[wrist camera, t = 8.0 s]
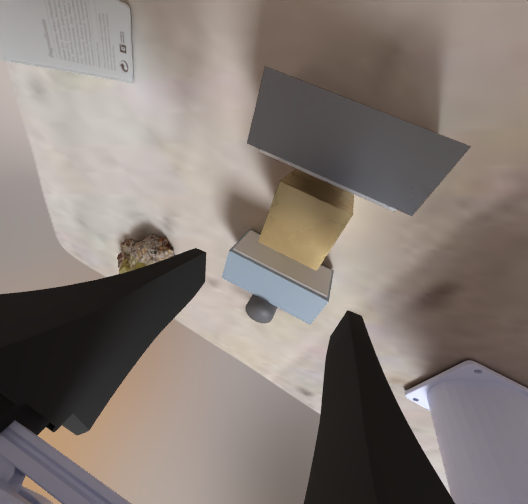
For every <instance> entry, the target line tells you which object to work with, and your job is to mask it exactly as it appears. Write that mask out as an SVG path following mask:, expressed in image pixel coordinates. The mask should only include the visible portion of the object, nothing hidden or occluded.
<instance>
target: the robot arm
mask: <svg viewBox="0 0 528 504" xmlns="http://www.w3.org/2000/svg"><path fill="white" fill-rule="evenodd" d="M205 270H206V252H204V251H202V250H199V249H197V248H195V249H192V250H189V251H186V252H183V253H181V254H178V255H175V256H173V257H170V258H167V259H164V260H162V261H159V262H156V263H153V264H150V265H147V266H144V267H141V268H138V269H135V270H132V271H129V272H125V273H122V274H118V275H114V276H110V277H106V278H102V279H98V280H94V281H88V282H84V283H78V284H74V285H68V286H62V287H56V288H49V289H43V290H36V291H27V292H19V293H9V294H0V504H53V503H52V502H51V501H49V500H48V499H47V498H45V497H44V496H42V495H40V494H38V493H36V492H34V491H32V490H30V489H28V488H25V487H23V486H22V482H23V480H24V478H25V475H26V476H28V477H29V478H30V479H31V480H33V481H34V482H35V483H36V484H38V485H39V486H40V487H42V488H43V489H44V490H45V491H47V492H48V493H49V494H50V495H52V496H53V497H54V498H56V499H57V500H58V501H59V502H61V503H62V504H131V503H130V502H128V501H127V500H125V499H124V498H122V497H121V496H120V495H119V494H117V493H116V492H114V491H113V490H112V489H110V488H109V487H107V486H106V485H105V484H103V483H102V482H101V481H99V480H98V479H96V478H95V477H94V476H92V475H91V474H90V473H88V472H87V471H85V470H84V469H83V468H81V467H80V466H78V465H77V464H76V463H74V462H73V461H72V460H70V459H69V458H67V457H66V456H65V455H63V454H62V453H61V452H59V451H58V450H56V449H55V448H54V447H52V446H51V445H49V444H48V443H47V442H45V441H44V440H43V439H41V438H40V437H38V436H37V435H38V434H39V433H40V432H41V431H42V430H43V429H44V428H45V427H47V428H49V429H50V430H51V431H52V432H55V431H56V430H57V429H58V428H59V427H60V426H61V425H62V426H64V427H65V428H67V429H68V430H70V431H71V432H73V433H74V434H76V435H80V434H82V433H85V432H87V431H89V430H90V429H91V427H92V425H93V424H94V422H95V421H96V419H97V418H98V416H99V415H100V413H101V412H102V410H103V409H104V407H105V406H106V404H107V403H108V401H109V400H110V398H111V397H112V396H113V394H114V393H115V391H116V390H117V388H118V387H119V385H120V384H121V383H122V381H123V380H124V379H125V377H126V376H127V374H128V373H129V372H130V370H131V369H132V368H133V366H134V365H135V364H136V362H137V361H138V360H139V358H140V357H141V356H142V354H143V353H144V352H145V351H146V349H147V348H148V347H149V346H150V344H151V343H152V342H153V340H154V339H155V338H156V337H157V336H158V335H159V333H160V332H161V331H162V330H163V329H164V328H165V327H166V326H167V325H168V323H170V322H171V321H172V320H173V319H174V317H175V316H176V315H177V314H178V313H179V312H180V311H181V310H182V309H183V308H184V307H185V306H186V305H187V304H188V303H189V302H190V301H191V299H192V298H193V297H194V296H195V295H196V293H197V292H198V291H199V289H200V288H201V287H202V285H203V284H204V282H205ZM405 397H406V398H408V399H410V400H411V401H413V402H415V403H417V404H419V405H421V406H422V407H424V408H426V409H428V410H430V412H431V416H432V420H433V424H434V428H435V432H436V436H437V440H438V444H439V448H440V453H441V457H442V461H443V465H444V469H445V473H446V477H447V481H448V485H449V489H450V493H451V496H450V494H449V493H448V491H447V490H446V488H445V486H444V485H443V483H442V481H441V480H440V478H439V476H438V475H437V473H436V471H435V470H434V468H433V466H432V465H431V463H430V462H429V460H428V458H427V457H426V455H425V453H424V451H423V450H422V448H421V446H420V445H419V443H418V441H417V439H416V437H415V436H414V434H413V432H412V430H411V428H410V426H409V424H408V423H407V421H406V419H405V417H404V415H403V413H402V411H401V409H400V407H399V405H398V403H397V401H396V399H395V397H394V395H393V393H392V390H391V388H390V386H389V384H388V382H387V380H386V377H385V375H384V373H383V370H382V368H381V365H380V363H379V361H378V358H377V356H376V353H375V351H374V348H373V345H372V343H371V340H370V337H369V335H368V332H367V329H366V326H365V323H364V321H363V318H362V316H360V315H358V314H356V313H353V312H351V311H348V310H347V312H346V313H345V315H344V317H343V318H342V320H341V321H340V323H339V324H338V326H337V327H336V329H335V330H334V332H333V333H332V335H331V336H330V341H329V345H328V350H327V355H326V361H325V372H324V383H323V395H322V406H321V416H320V424H319V429H318V435H317V440H316V446H315V451H314V457H313V462H312V467H311V472H310V477H309V482H308V487H307V491H306V496H305V501H304V504H528V388H526V387H524V386H522V385H520V384H518V383H516V382H514V381H512V380H510V379H508V378H506V377H504V376H502V375H500V374H498V373H496V372H494V371H492V370H491V369H489V368H487V367H485V366H483V365H481V364H479V363H477V362H474V361H470V360H468V361H464V362H462V363H460V364H458V365H456V366H454V367H452V368H450V369H448V370H446V371H444V372H442V373H440V374H438V375H436V376H434V377H432V378H430V379H428V380H426V381H424V382H422V383H420V384H418V385H416V386H414V387H412V388H410V389H408V390H406V391H405ZM451 497H452V498H451Z"/></svg>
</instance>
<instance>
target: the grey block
mask: <svg viewBox="0 0 528 504" xmlns="http://www.w3.org/2000/svg"><path fill="white" fill-rule="evenodd" d="M247 144H250V145H252V146H254V147H257V148H259V149H260V150H259V152H260V153H263V154H265V155H267V156H269V157H272V158H274V159H276V160H278V161H281V162H283V163H285V164H287V165H290V166H292V167H294V168H296V169H299V170H301V171H303V172H305V173H308V174H310V175H312V176H314V177H317V178H319V179H321V180H323V181H326V182H328V183H330V184H332V185H335V186H337V187H339V188H341V189H344V190H346V191H348V192H350V193H353V194H355V195H357V196H359V197H362V198H364V199H366V200H368V201H371V202H373V203H375V204H377V205H380V206H382V207H384V208H387V209H389V210H391V211H393V212H395V211H396V210H399V211H401V212H404V213H406V214H408V215H410V216H412V215H413V214H414V213H415V212H416V211H417V210H418V208H419V207H420V206H421V205H422V204H423V203H424V201H425V200H426V199H427V198H428V197H429V195H430V194H431V193H432V192H433V191H434V190H435V188H436V187H437V186H438V185H439V184H440V182H441V181H442V180H443V179H444V178H445V177H446V175H447V174H448V173H449V172H450V171H451V169H452V168H453V167H454V166H455V165H456V164H457V162H458V161H459V160H460V159H461V158H462V156H463V155H464V154H465V153H466V152H467V151H468V149H469V148H470V147H471V146H468V145H466V144H463V143H461V142H458V141H455V140H453V139H450V138H448V137H445V136H443V135H440V134H437V133H435V132H432V131H430V130H427V129H425V128H422V127H420V126H417V125H414V124H412V123H409V122H407V121H404V120H402V119H399V118H396V117H394V116H391V115H389V114H386V113H384V112H381V111H378V110H376V109H373V108H371V107H368V106H366V105H363V104H361V103H358V102H355V101H353V100H350V99H348V98H345V97H343V96H340V95H337V94H335V93H332V92H330V91H327V90H325V89H322V88H319V87H317V86H314V85H312V84H309V83H307V82H304V81H302V80H299V79H296V78H294V77H291V76H289V75H286V74H284V73H281V72H278V71H276V70H273V69H271V68H268V67H266V66H265V69H264V74H263V78H262V82H261V86H260V90H259V95H258V99H257V103H256V107H255V112H254V116H253V120H252V124H251V128H250V133H249V137H248V141H247Z"/></svg>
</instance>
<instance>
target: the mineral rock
mask: <svg viewBox="0 0 528 504" xmlns="http://www.w3.org/2000/svg"><path fill="white" fill-rule="evenodd" d="M121 246H122V252H121V253H120V254H119V255H118V257H117V259H118V267H119V268H120V269H119V274H122V273H125V272H129V271H132V270H135V269H138V268H141V267H144V266H147V265H150V264H153V263H156V262H159V261H162V260H164V259H167V258H170V257H173V256H174V253H173V252H174V250H173V249H171V248H170V247H169V245H168V240H167V239H166V238H159V237H158V236H157V235H149V236H147V237H145V238H144V240H143V241H140V242H136V241H134V240H132V239H130V240H125V241H124V242H123V243H122V244H121Z"/></svg>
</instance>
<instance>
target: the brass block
mask: <svg viewBox="0 0 528 504" xmlns="http://www.w3.org/2000/svg"><path fill="white" fill-rule="evenodd" d="M353 204H354V194H353V193H350V192H348V191H346V190H344V189H341V188H339V187H337V186H335V185H332V184H330V183H328V182H326V181H323V180H321V179H319V178H317V177H314V176H312V175H310V174H308V173H305V172H303V171H301V170H299V169H295V170H294V171H292V172H291V173H290V174H289V175H287V176H286V177H285V178H284V179H282V180H281V181H280V182H279V185H278V188H277V191H276V194H275V196H274V199H273V202H272V205H271V207H270V210H269V213H268V216H267V218H266V221H265V224H264V227H263V229H262V232H261V235H260V238H259V241H258V242H259V243H261V244H263V245H265V246H267V247H269V248H271V249H273V250H275V251H277V252H279V253H281V254H283V255H285V256H287V257H289V258H291V259H293V260H295V261H297V262H299V263H301V264H303V265H305V266H307V267H309V268H311V269H314V270H316V271H317V270H318V268H319V267H320V265H321V263H322V262H323V260H324V259H325V257H326V256H327V254H328V253H329V251H330V249H331V248H332V246H333V245H334V243H335V242H336V240H337V239H338V237H339V236H340V234H341V232H342V231H343V229H344V228H345V226H346V225H347V223H348V222H349V220H350V218H351V217H352V215H353Z"/></svg>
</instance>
